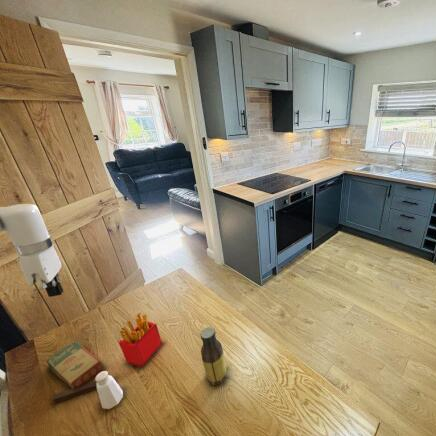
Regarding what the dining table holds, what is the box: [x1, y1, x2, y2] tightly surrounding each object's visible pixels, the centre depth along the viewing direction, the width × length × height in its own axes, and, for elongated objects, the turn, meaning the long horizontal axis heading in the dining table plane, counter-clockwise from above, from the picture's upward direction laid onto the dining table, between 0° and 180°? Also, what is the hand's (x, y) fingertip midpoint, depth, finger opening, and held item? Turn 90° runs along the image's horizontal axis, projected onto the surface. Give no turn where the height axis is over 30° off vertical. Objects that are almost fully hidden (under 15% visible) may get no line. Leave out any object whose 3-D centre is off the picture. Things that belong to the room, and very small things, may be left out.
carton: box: [45, 340, 104, 389], centre depth 77 cm, size 8×16×4 cm, turn 63°
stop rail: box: [52, 375, 114, 404], centre depth 71 cm, size 14×2×2 cm, turn 114°
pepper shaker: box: [94, 370, 124, 410], centre depth 67 cm, size 5×5×11 cm
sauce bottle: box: [199, 326, 228, 386], centre depth 72 cm, size 6×6×20 cm
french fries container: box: [118, 312, 163, 368], centre depth 80 cm, size 7×9×14 cm
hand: (56, 294), depth 77 cm, fingers closed
